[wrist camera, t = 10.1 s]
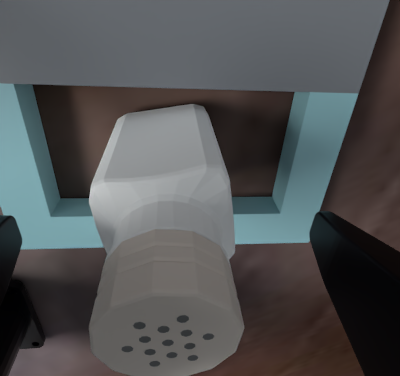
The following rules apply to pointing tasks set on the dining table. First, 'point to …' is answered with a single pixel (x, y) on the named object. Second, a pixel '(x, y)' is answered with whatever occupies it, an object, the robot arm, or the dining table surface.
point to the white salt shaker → (164, 247)
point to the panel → (185, 79)
